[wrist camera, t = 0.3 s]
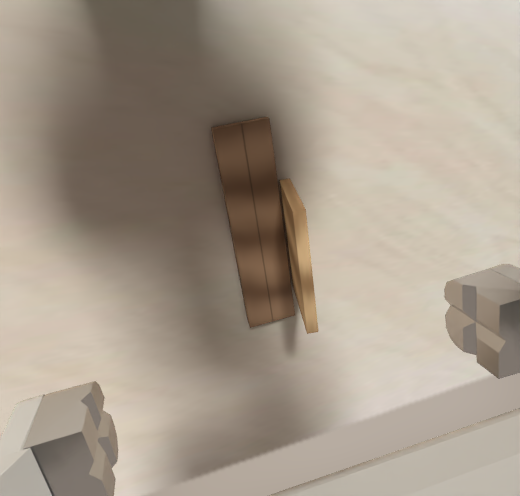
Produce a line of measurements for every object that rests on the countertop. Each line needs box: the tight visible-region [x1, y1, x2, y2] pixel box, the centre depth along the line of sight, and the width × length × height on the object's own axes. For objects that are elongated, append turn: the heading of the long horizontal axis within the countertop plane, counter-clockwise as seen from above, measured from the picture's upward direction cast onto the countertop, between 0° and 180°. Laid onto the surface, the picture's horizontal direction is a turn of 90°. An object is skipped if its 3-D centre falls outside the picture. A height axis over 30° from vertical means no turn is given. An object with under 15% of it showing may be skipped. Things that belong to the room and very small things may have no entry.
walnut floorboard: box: [211, 117, 295, 328], centre depth 50 cm, size 25×6×1 cm, turn 9°
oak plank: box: [279, 178, 318, 334], centre depth 47 cm, size 14×10×1 cm
